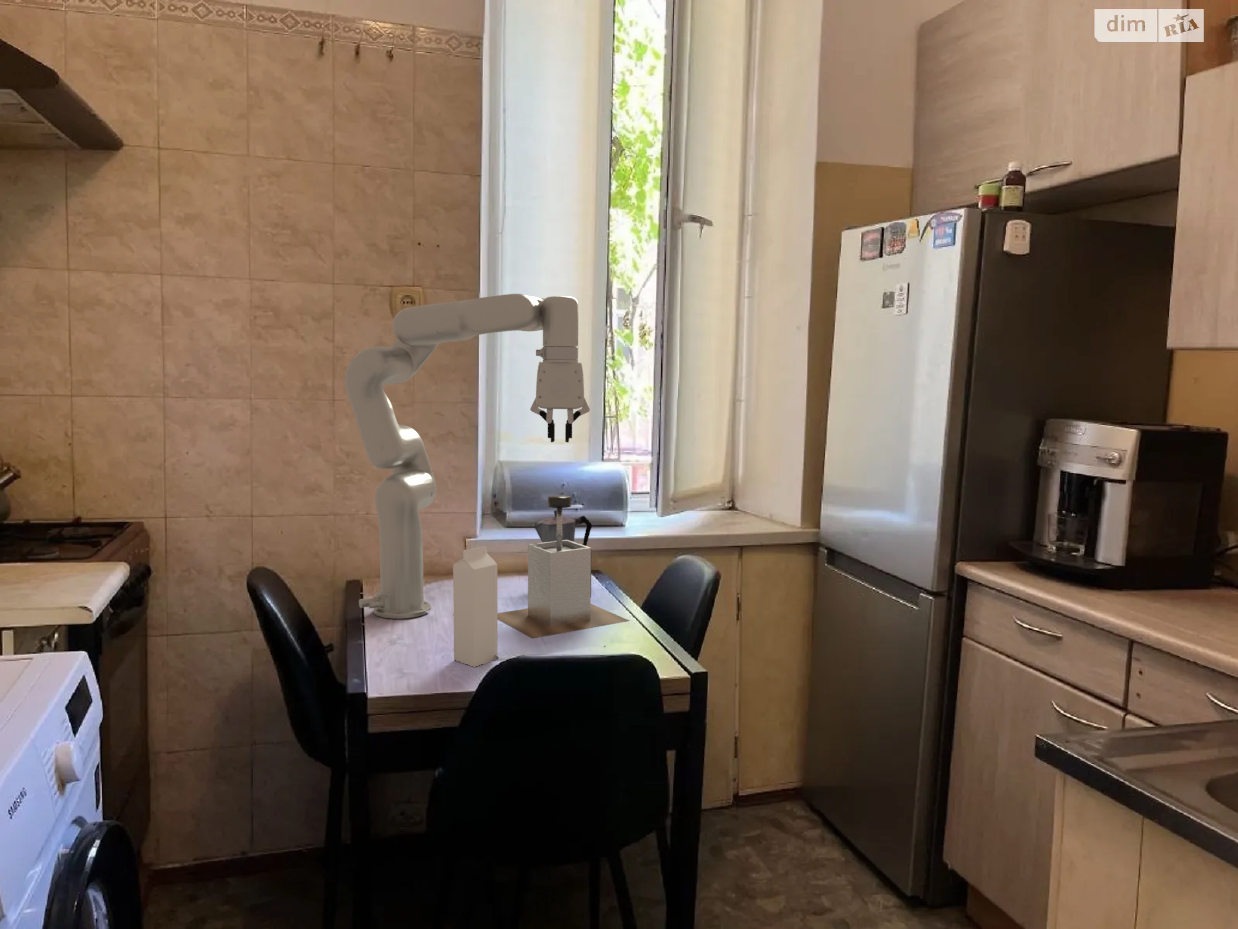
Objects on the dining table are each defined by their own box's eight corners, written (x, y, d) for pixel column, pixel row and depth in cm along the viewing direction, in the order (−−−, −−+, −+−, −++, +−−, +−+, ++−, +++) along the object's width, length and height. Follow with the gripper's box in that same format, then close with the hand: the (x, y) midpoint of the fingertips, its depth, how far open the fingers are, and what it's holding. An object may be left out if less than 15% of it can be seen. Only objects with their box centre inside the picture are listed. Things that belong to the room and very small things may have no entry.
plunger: (552, 560, 194) (552, 501, 193) (534, 553, 201) (534, 495, 199) (584, 556, 199) (585, 498, 197) (565, 549, 205) (566, 493, 204)
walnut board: (532, 644, 187) (532, 638, 186) (489, 619, 203) (489, 614, 203) (629, 626, 200) (629, 620, 200) (581, 604, 216) (581, 599, 216)
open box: (550, 626, 194) (550, 552, 192) (527, 615, 203) (528, 544, 201) (601, 617, 202) (602, 546, 200) (578, 607, 210) (578, 538, 208)
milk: (497, 660, 177) (498, 547, 174) (474, 668, 172) (474, 552, 169) (476, 653, 181) (477, 543, 178) (452, 660, 176) (452, 547, 173)
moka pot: (526, 586, 233) (526, 508, 230) (582, 580, 239) (583, 505, 237) (539, 595, 224) (539, 514, 222) (597, 589, 231) (598, 511, 228)
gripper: (521, 354, 190) (521, 443, 193) (598, 355, 191) (597, 443, 193) (523, 354, 198) (523, 439, 200) (598, 355, 198) (597, 440, 201)
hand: (559, 441), depth 197 cm, fingers open, 2 cm apart
